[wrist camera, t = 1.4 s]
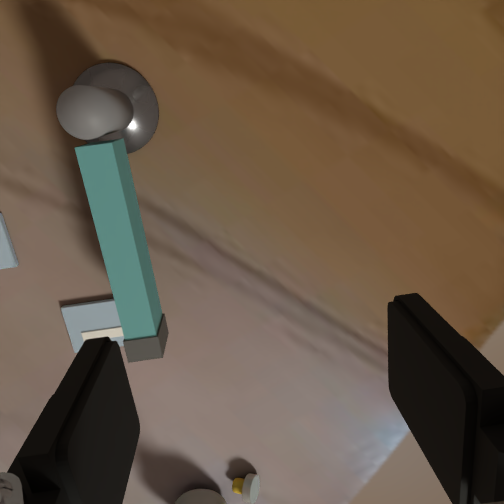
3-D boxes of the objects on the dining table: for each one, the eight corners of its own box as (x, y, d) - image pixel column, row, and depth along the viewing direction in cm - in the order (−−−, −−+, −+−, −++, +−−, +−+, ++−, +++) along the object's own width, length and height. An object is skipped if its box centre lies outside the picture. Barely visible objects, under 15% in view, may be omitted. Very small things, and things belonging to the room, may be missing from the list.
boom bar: (87, 91, 25) (50, 88, 19) (128, 86, 25) (102, 81, 19) (141, 317, 30) (124, 365, 24) (176, 312, 30) (165, 359, 24)
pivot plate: (149, 57, 25) (148, 57, 24) (166, 148, 26) (165, 148, 26) (59, 69, 24) (58, 68, 24) (83, 159, 26) (82, 160, 26)
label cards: (110, 197, 27) (108, 199, 27) (145, 340, 31) (143, 343, 30) (-78, 223, 27) (-83, 225, 26) (-21, 363, 31) (-25, 367, 30)
